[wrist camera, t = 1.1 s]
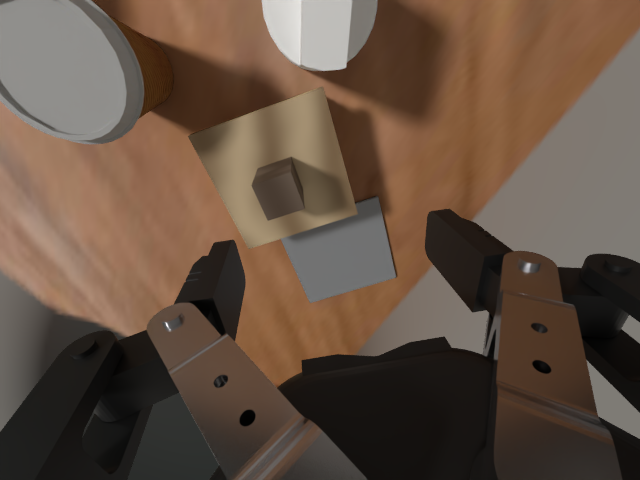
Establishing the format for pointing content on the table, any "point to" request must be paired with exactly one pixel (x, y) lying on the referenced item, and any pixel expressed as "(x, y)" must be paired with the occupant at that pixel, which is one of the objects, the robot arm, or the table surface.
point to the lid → (278, 168)
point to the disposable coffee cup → (77, 69)
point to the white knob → (319, 30)
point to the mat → (342, 253)
